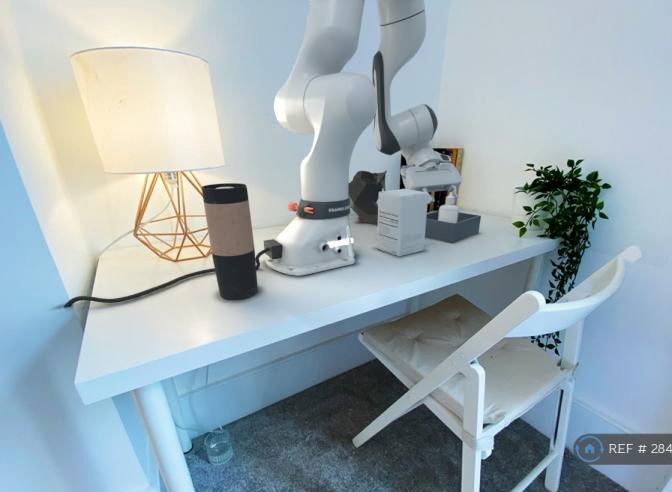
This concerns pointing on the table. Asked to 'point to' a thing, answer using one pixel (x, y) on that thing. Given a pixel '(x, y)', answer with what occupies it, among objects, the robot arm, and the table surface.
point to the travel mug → (231, 239)
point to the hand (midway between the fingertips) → (443, 200)
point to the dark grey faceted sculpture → (366, 195)
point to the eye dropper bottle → (448, 210)
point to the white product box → (401, 221)
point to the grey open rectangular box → (452, 227)
